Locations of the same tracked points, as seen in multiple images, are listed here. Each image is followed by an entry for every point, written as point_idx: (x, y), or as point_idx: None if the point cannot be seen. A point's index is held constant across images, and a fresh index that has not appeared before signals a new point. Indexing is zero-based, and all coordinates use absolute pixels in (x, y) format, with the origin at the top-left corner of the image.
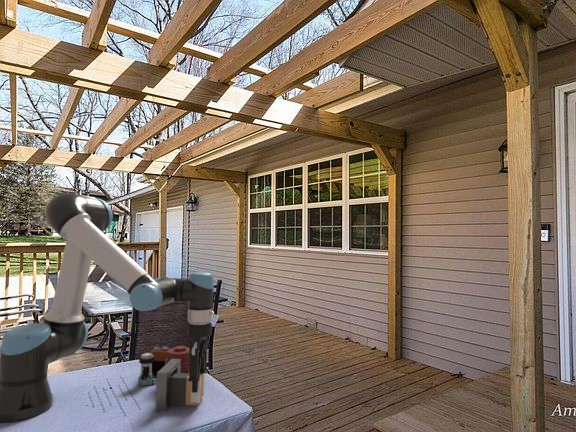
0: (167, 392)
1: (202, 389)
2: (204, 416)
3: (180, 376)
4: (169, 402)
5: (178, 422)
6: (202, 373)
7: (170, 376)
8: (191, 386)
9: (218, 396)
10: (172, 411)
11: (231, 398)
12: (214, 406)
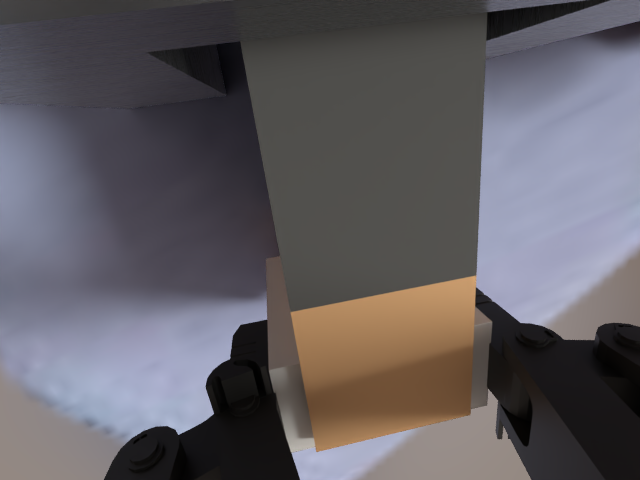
0: (96, 99)
1: None
2: (169, 380)
3: (331, 194)
4: (214, 95)
5: (24, 281)
6: (495, 391)
7: (135, 62)
8: (268, 331)
9: None
10: (155, 162)
11: None
12: None
